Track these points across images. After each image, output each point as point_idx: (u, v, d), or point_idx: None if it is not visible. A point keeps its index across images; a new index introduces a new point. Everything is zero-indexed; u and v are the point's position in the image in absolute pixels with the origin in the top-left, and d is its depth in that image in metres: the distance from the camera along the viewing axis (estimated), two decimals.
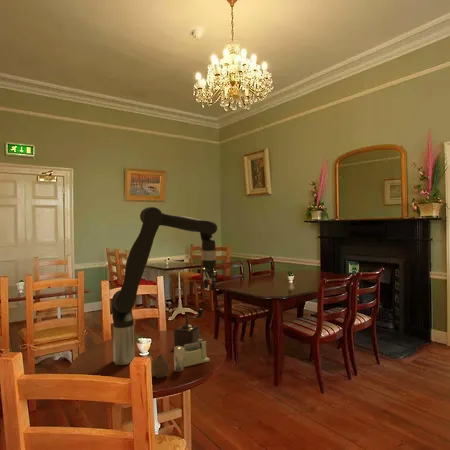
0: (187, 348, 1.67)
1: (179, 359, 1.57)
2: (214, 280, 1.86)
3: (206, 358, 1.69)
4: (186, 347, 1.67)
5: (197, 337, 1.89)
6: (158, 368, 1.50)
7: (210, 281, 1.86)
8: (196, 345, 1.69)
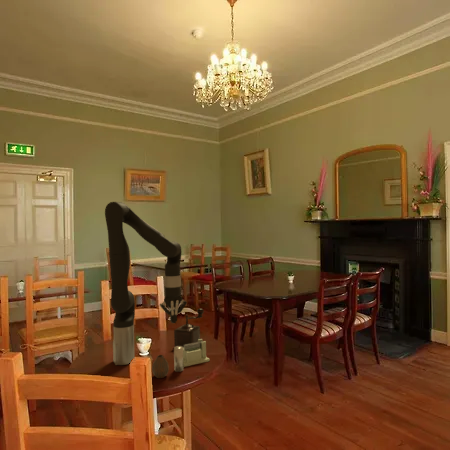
0: (187, 348, 1.67)
1: (179, 359, 1.57)
2: None
3: (206, 358, 1.69)
4: (186, 347, 1.67)
5: (197, 337, 1.89)
6: (158, 368, 1.50)
7: (175, 311, 1.64)
8: (196, 345, 1.69)
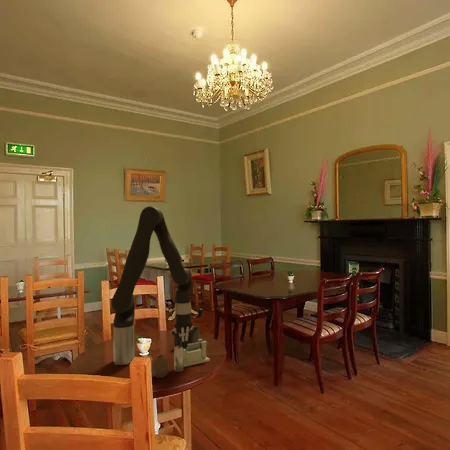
0: (190, 347, 1.68)
1: (179, 359, 1.57)
2: None
3: (206, 358, 1.69)
4: (189, 347, 1.68)
5: (197, 337, 1.89)
6: (158, 368, 1.50)
7: (186, 338, 1.67)
8: (198, 345, 1.70)
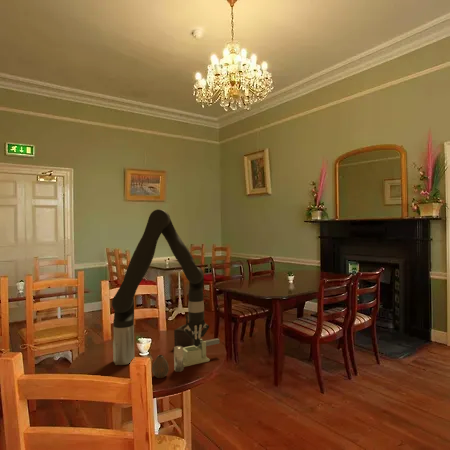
0: None
1: (179, 359, 1.57)
2: None
3: (206, 358, 1.69)
4: None
5: None
6: (158, 368, 1.50)
7: (199, 335, 1.70)
8: (211, 342, 1.73)
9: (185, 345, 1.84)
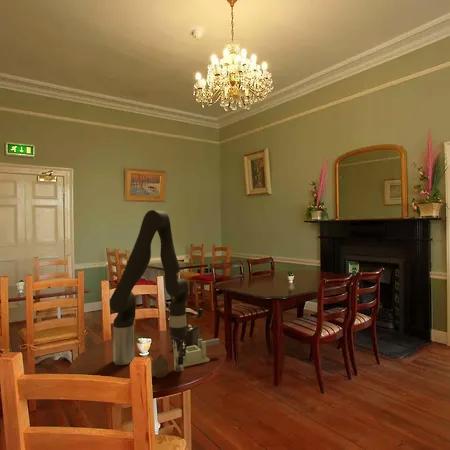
0: None
1: None
2: None
3: (206, 358, 1.69)
4: None
5: (197, 337, 1.89)
6: (159, 368, 1.50)
7: None
8: (211, 342, 1.73)
9: None
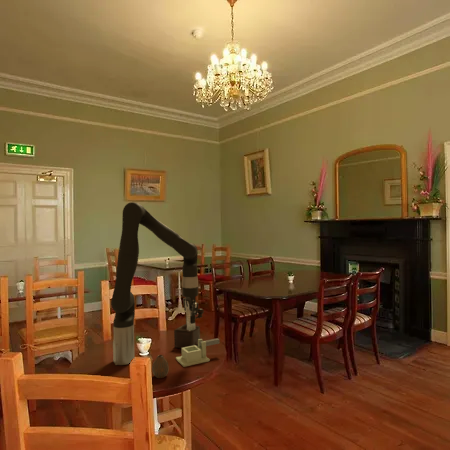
0: None
1: None
2: None
3: (206, 358, 1.69)
4: None
5: (197, 337, 1.89)
6: (158, 368, 1.50)
7: None
8: (211, 342, 1.73)
9: (185, 345, 1.84)
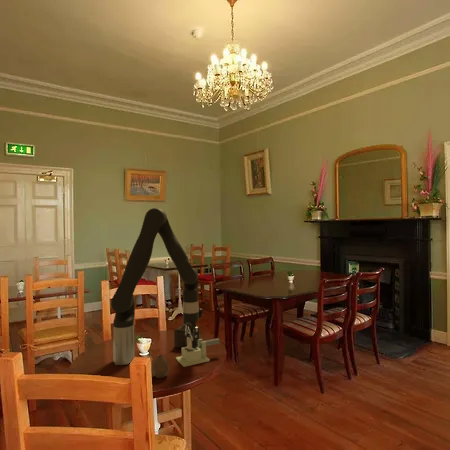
0: None
1: (192, 348, 1.67)
2: None
3: (206, 358, 1.69)
4: None
5: None
6: (158, 368, 1.50)
7: None
8: (211, 342, 1.73)
9: (185, 345, 1.84)
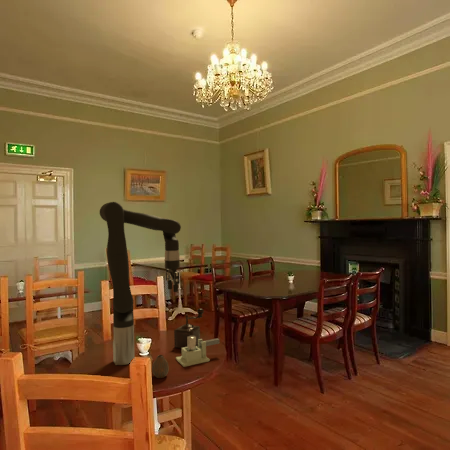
0: None
1: (192, 348, 1.67)
2: None
3: (206, 358, 1.69)
4: None
5: (197, 337, 1.89)
6: (159, 368, 1.50)
7: None
8: (211, 342, 1.73)
9: (185, 345, 1.84)
